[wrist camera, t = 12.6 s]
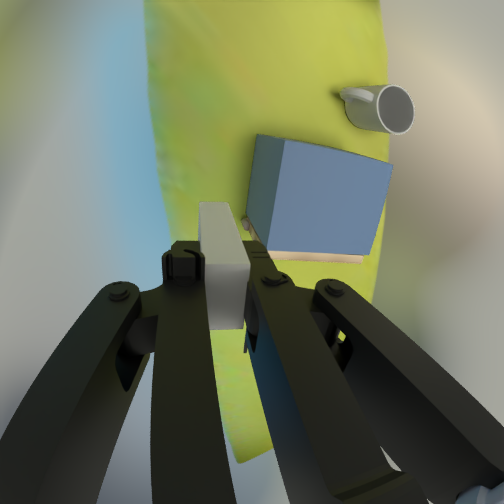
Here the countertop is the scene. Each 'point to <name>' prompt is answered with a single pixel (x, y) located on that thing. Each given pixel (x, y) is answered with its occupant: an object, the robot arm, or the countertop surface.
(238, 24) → the countertop surface
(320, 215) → the cabinet
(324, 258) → the door
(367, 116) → the cup
